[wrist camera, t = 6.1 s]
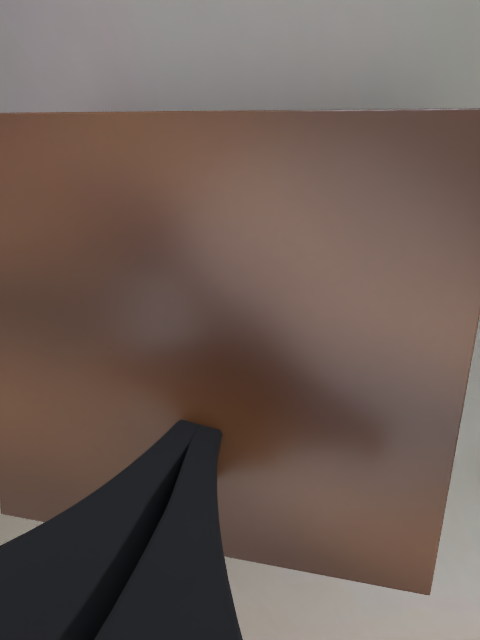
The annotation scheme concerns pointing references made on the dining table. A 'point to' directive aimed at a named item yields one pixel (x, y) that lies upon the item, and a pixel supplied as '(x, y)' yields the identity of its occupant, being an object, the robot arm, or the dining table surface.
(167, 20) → the dining table surface
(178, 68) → the dining table surface
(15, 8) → the dining table surface
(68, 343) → the lid
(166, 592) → the robot arm
